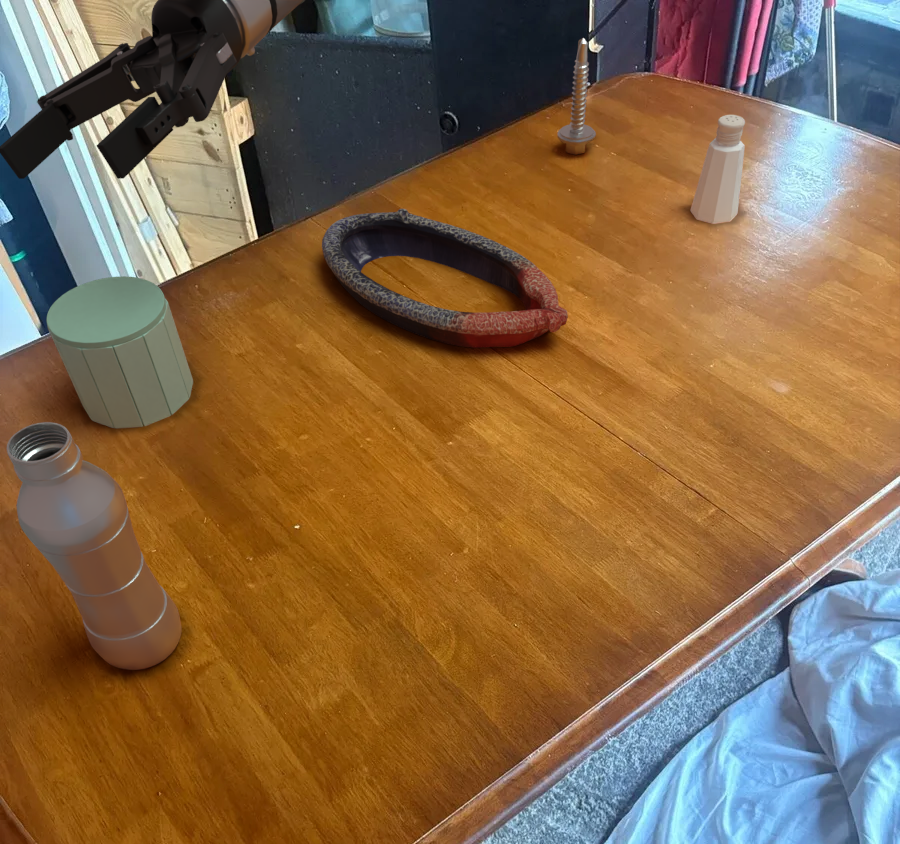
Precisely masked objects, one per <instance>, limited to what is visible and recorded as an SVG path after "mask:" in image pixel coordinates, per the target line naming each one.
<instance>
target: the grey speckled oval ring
mask: <svg viewBox="0 0 900 844" xmlns="http://www.w3.org/2000/svg"><path fill="white" fill-rule="evenodd" d="M321 249H322V254H323V258H324V260H325V262H326V264H327V266H328V268H329V269H330V270H331V272H332V273H333V275H334V276H335V278H336V280H337V281H338V282H339V284H340V285H341V286H342V287H343V288H344V290H345V291H346V292H347V293H348V294H349V295H350V296H351V297H352V298H353V299H354V300H355V301H357V303H359V304H360V305H361V306H362V307H364V308H365V309H366V310H367V311H369V312H371V313H372V314H374V315H375V316H377V317H379V318H381V319H383V320H384V321H386V322H388V323H390V324H392V325H394V326H397V327H398V328H401V329H403V330H406V331H408V332H410V333H413V334H415V335H417V336H421V337H423V338H426V339H428V340H432V341H435V342H439V343H442V344H447V345H452V346H457V347H463V348H474V349H479V348H480V349H481V348H497V347H498V348H508V347H516V346H519V345H522V344H525V343H528V342H529V341H532V340H534V339H537V338H539V337H541V336H543V335H545V333H547V332H550V333H556V332H558V331H559V330H560V328H561V326H565V325H566V324H567V321H568V318H569V316H568V310H567V309H565V308H563V307H562V306H560V305H559V296H558V293H557V289H556V287H555V286H554V284H553V283H552V281H551V280H550V279H549V277H548V276H547V275H546V274H545V273H544V272H543V271H542V270H541V269H540V268H539V267H537V265H536V264H535V263H533V262H532V261H531V260H529V259H528V258H526V257H525V256H523V255H522V254H520V253H518V252H516V251H515V250H513V249H511V248H509V247H507V246H505V245H503V244H501V243H499V242H497V241H495V240H492V239H491V238H488V237H486V236H483V235H481V234H478V233H476V232H474V231H470V230H467V229H465V228H461V227H458V226H455V225H452V224H448V223H445V222H441V221H438V220H434V219H431V218H427V217H423V216H419V215H416V214H412V213H410V212H409V211H408V209H406V208H399V209H398V210H397V211H393V212H392V211H390V212H369V213H367V212H366V213H360V214H353V215H350V216H345V217H343V218H341V219H338V220H336V221H335V222H333V223H332V224H331V225H330V226H329V227H328V228H327V229H326V231H325V233H324V235H323V237H322V239H321ZM387 257H409V258H416V259H421V260H425V261H429V262H433V263H436V264H439V265H442V266H445V267H448V268H451V269H455V270H457V271H459V272H462V273H465V274H467V275H470V276H472V277H475V278H477V279H479V280H482V281H484V282H486V283H489V284H491V285H494V286H496V287H499V288H501V289H503V290H505V291H507V292H509V293H511V294H513V295H514V296H515V297H516V298H518V300H520V301H521V302H522V304H523V306H524V309H525V310H514V311H513V310H512V311H490V312H472V311H470V312H469V311H460V310H453V309H447V308H442V307H438V306H434V305H430V304H427V303H424V302H421V301H418V300H415V299H412V298H410V297H407V296H405V295H403V294H400V293H398V292H396V291H394V290H391V289H390V288H387V287H385V286H384V285H382V284H381V283H378V282H377V281H375V280H373V279H372V278H370V277H369V276H367V275H366V274H365V273H363V272H362V270H363V268H364V267H365V266H366V265H367V264H368V263H370V262H372V261H374V260H378V259H382V258H387Z"/></svg>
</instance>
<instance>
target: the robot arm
mask: <svg viewBox="0 0 900 844" xmlns="http://www.w3.org/2000/svg"><path fill="white" fill-rule="evenodd" d="M305 1H306V0H157V1H155V3H154V5H153V7H152V10H151V19H150V21H151V32H152V33H151V35H148V36H146V37H143V38H142V39H140V40H138V41H137V42H136V43H135V44H134V46H133V47H132V48H131V46H130V45H129V43H128V42H125V43H123V42H122V43H120V44H119V45H118V46H117V47H116V48H114V49H113V50H112V51H111V52H110V53H108V54H107V55H106V56H104V57H103V58H101V59H100V60H98V61H97V62H95V63H93V64H92V65H90V66H88V67H87V68H86V69H84V70H83V71H81V72H79V73H77V74H76V75H74V76H73V77H71V78H69V79H68V80H66V81H65V82H63V83H62V84H60V85H58V86H57V87H55V88H54V89H52V90H50V91H49V92H47V93H46V94H44V95H41V96H39V98H37V100H36V103H37V105H38V106H39V107H40V109H41V110H40V111H38V112H37V113H36V114H35V115H34V116H33V117H31V118H30V119H29V120H28V121H27V122H26V123H25V124H23V126H22V127H20V128H19V129H18V130H17V131H16V132H14V134H12V135H11V136H10V137H9V138H8V139H6V140H5V142H3V143H2V144H1V145H0V155H1V156H2V158H3V159H4V161H5V162H6V163H7V165H8V166H9V168H10V169H11V170H12V171H13V173H14V174H15V175H16V177H17V178H18V179H20V180H24V179H26V177H28V176H29V175H30V174H32V172H33V171H34V170H35V169H37V167H39V166H40V165H41V164H42V163H43V162H44V161H45V160H47V159H48V158H49V156H51V154H53V153H54V152H55V151H56V150H57V149H58V148H59V147H61V146H62V145H63V144H64V143H65V142H66V141H72V140H74V134H73V133H72V131H71V130H73V129H74V128H77V127H78V126H80V125H83V124H84V123H86V122H88V121H91V120H92V119H93V118H95V117H97V116H99V115H101V114H103V113H105V112H107V111H109V110H110V109H112V108H114V107H116V106H118V105H120V104H121V103H124V102H125V101H127V100H128V101H131V102H132V103H138V102H139V101H141V100H143V99H144V100H143V101H142V102H141V103H140V104H139V105H138V106H137V107H136V108H135V109H134V110H133V111H131V112H130V114H128V115H127V116H126V117H125V118H124V119H123V120H122V121H121V122H119V124H118V125H117V126H116V127H115V128H113V129H112V130H111V131H110V132H109V133H108V134H107V135H106V136H105V137H104V138H103V139H101V141H99V142H98V144H96V147H97V150H98V151H99V152H100V154H101V155H102V157H103V159H104V160H105V161H106V163H107V164H108V166H109V168H110V169H111V171H112V172H113V174H114V175H115V177H116V178H117V179H120V180H121V179H125V178H126V177H127V176H128V175H129V174H130V173H131V172H132V171H133V170H134V169H135V168H136V167H137V166H138V165H139V164H140V163H141V162H142V161H144V159H145V158H146V157H148V156H149V154H150V153H152V152H153V151H154V150H155V149H156V147H157V146H159V145H160V144H161V143H162V142H163V141H164V140H165V139H166V138H167V137H168V136H169V135H170V134H171V133H172V132H173V131H174V127H175V128H181V127H184V126H186V124H187V123H188V122H189V119H190V118H193V120H194V122H195V123H199V122H203V121H205V120H206V119H207V118H208V117H209V115H210V113H211V112H212V111H211V110H212V108H213V106H214V104H215V101H216V99H217V97H218V95H219V92H220V90H221V88H222V86H223V84H224V81H225V79H226V76H227V75H228V74H229V73H230V72H231V71H232V70H233V69H234V68H235V67H236V66H237V65H238V64H239V63H240V61H241V59H242V58H244V57H245V56H246V55H247V56H249V57H251V56H253V55H255V53H256V49H255V47H256V46H257V44H258V43H260V42H261V41H262V39H264V38H265V37H266V36H267V35H268V34H269V33H270V32H271V31H272V30H273V29H274V28H275V27H276V26H277V25H278V24H279V23H281V21H283V19H285V18H286V17H287V16H288V15H289V14H290V13H291V12H293V11H294V9H296V8H297V7H298V6H300V5H302V4H303V3H304V2H305ZM132 82H135V83H136V85H137V88H136V87H135V86H134V85H133V83H132ZM154 93H156V95H157V96H158V98H159V100H160V102H161V103H159V101H158V100H157V98H156V97H155V96H150V95H152V94H154ZM145 98H146V99H145Z"/></svg>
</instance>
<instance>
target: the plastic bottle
mask: <svg viewBox="0 0 900 844" xmlns="http://www.w3.org/2000/svg"><path fill="white" fill-rule="evenodd" d="M6 453H7V457H8V458H9V460H10V461H11V463H12V465H13V471H14V472H15V475H16V476H17V478H18V479H19V480H20V482H22V483H21V486H20V488H19V491H18V496H17V500H16V513H17V518H18V524H19V526H20V528H21V531H22V532H23V533H24V534H25V536H26V537H27V538H28V539H29V541H30V542H31V543H32V544H33V546H34V547H35V548H36V549H37V550H38V551H39V553H41V554H42V556H43V557H44V558H45V559H46V560H47V561H48V563H49V564H50V565H51V566H52V567H53V569H54V570H55V571H56V573H57V574H58V577H60V580H62V582H63V583H64V585H65V586H66V588H67V589H68V590H69V592H70V593H71V595H72V599H73V600H74V603H75V604H76V606H77V609H78V612H79V613H80V615H81V618H82V623H83V628H84V631H85V634H86V636H87V639H88V642H89V645H90V646H91V648H92V649H93V650H94V651H95V652H96V653H97V654H98V656H100V657H101V659H103V660H104V661H105V662H106V663H107V664H108V665H110V666H112V667H115V668H118V669H122V670H127V671H139V670H140V671H141V670H146V669H148V668H152V667H154V666H156V665H159V664H160V663H162V662H163V661H165V660H166V659H167V658H168V657H169V656H171V654H173V652H174V651H175V650H176V648H177V647H178V644H179V642H180V640H181V637H182V622H181V617H180V612H179V609H178V607H177V605H176V603H175V601H174V600H173V599H172V598H171V596H170V595H169V593H168V592H167V591H166V590H165V589H164V588H163V586H162V585H161V584H160V583H159V581H158V580H157V578H156V577H155V575H154V573H153V572H152V570H151V568H150V567H149V565H148V564H147V562H146V560H145V557H144V553H143V552H142V550H141V548H140V544H139V541H138V540H137V536H136V534H135V531H134V527H133V523H132V519H131V515H130V511H129V508H128V504H127V499H126V496H125V494H124V491H123V489H122V487H121V485H120V484H119V482H117V481H116V480H115V479H114V478H113V477H112V476H111V475H110V474H109V473H108V472H107V471H106V470H104V469H102V468H101V467H99V466H98V465H95V464H94V463H91V462H89V461H88V460H84V456H83V453H82V452H81V448H79V445H77V444H76V442H75V440H74V438H73V436H72V434H71V432H70V431H69V430H68V428H67V427H65V426H64V425H62V424H60V423H57V422H51V421H42V422H37V423H32V424H30V425H27V426H25V427H22V428H21V429H20V430H18V431H16V432H15V433H14V434H13V435H11V437H10V438H9V439H8V441H7V444H6Z"/></svg>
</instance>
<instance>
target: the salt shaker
mask: <svg viewBox="0 0 900 844" xmlns="http://www.w3.org/2000/svg"><path fill="white" fill-rule="evenodd" d="M745 125H746V119H744V117H742V116H740V115H737V114H726V115H725V114H724V115H722V116H720V117H719V118H718V120H717V129H716V135H715V137H714V139H712V141H711V142H709V144H708V146H707V150H706V154H705V158H704V161H703V165H702V167H701V171H700V175H699V178H698V182H697V185H696V189H695V192H694V196H693V199H692V203H691V206H690V212H691V214H692V215H693V217H694V218H695V219H696V220H698V221H701V222H705V223H707V224H712V225H716V224H723V223H730V222H732V220H733V219H734V218H736V216H738V213H739V205H740V196H741V195H740V194H741V187H742V186H741V185H742V178H743V177H742V176H743V167H744V159H745V144H744V143H743V141H742V136H743V132H744V127H745Z"/></svg>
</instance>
